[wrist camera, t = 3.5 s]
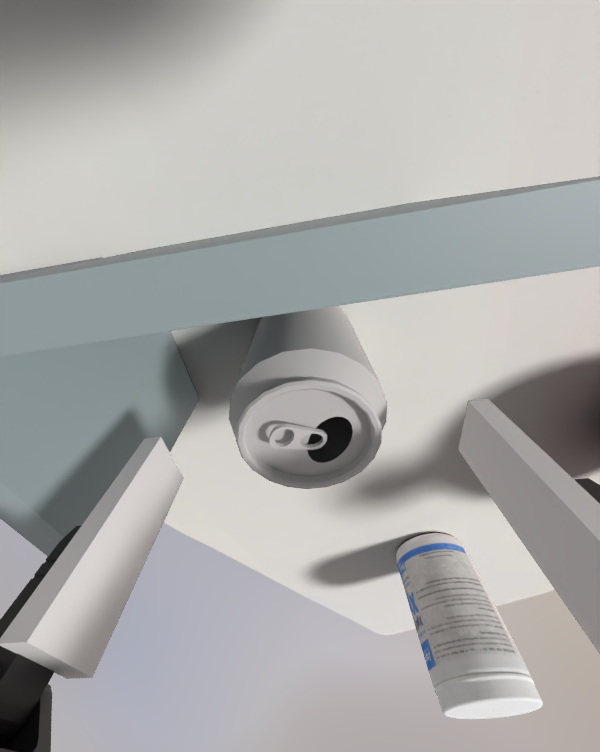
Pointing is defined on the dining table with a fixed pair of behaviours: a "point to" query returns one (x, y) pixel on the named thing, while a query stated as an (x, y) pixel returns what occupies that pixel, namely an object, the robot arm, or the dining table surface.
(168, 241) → the dining table surface
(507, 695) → the supplement tub
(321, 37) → the dining table surface
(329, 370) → the can
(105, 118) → the dining table surface
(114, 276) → the screen
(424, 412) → the dining table surface
